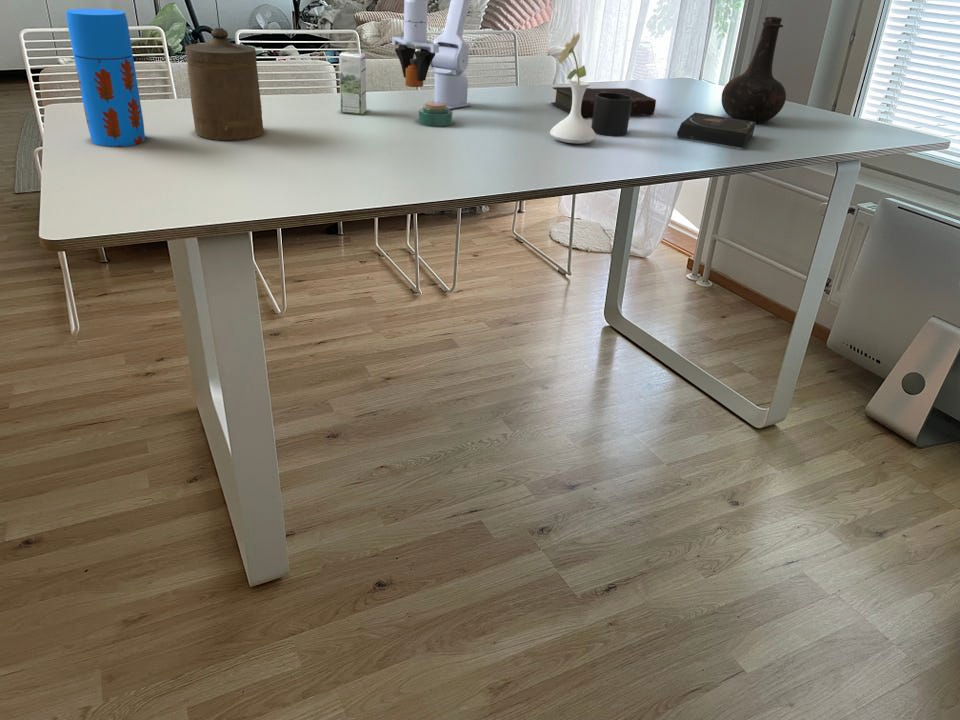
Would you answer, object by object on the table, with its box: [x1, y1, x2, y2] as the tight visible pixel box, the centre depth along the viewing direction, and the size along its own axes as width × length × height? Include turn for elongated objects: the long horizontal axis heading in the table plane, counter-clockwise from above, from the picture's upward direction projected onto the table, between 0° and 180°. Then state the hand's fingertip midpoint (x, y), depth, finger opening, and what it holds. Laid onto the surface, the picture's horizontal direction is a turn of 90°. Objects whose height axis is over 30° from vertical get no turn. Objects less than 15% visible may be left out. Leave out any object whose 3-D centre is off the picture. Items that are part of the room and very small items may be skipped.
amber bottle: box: [404, 58, 424, 88], centre depth 190 cm, size 5×5×6 cm
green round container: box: [418, 100, 454, 128], centre depth 190 cm, size 9×9×5 cm
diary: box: [550, 86, 657, 117], centre depth 217 cm, size 19×25×5 cm
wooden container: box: [185, 27, 264, 141], centre depth 164 cm, size 15×15×22 cm
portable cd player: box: [676, 112, 757, 151], centre depth 196 cm, size 16×17×4 cm
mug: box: [590, 93, 632, 137], centre depth 193 cm, size 9×12×9 cm
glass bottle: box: [721, 16, 787, 124], centre depth 213 cm, size 18×18×28 cm
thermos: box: [65, 8, 146, 148], centre depth 152 cm, size 11×11×25 cm
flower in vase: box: [549, 32, 597, 144], centre depth 177 cm, size 13×11×25 cm
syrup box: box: [338, 51, 367, 115], centre depth 192 cm, size 6×6×14 cm
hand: (414, 78), depth 191 cm, fingers closed on amber bottle, 4 cm apart
